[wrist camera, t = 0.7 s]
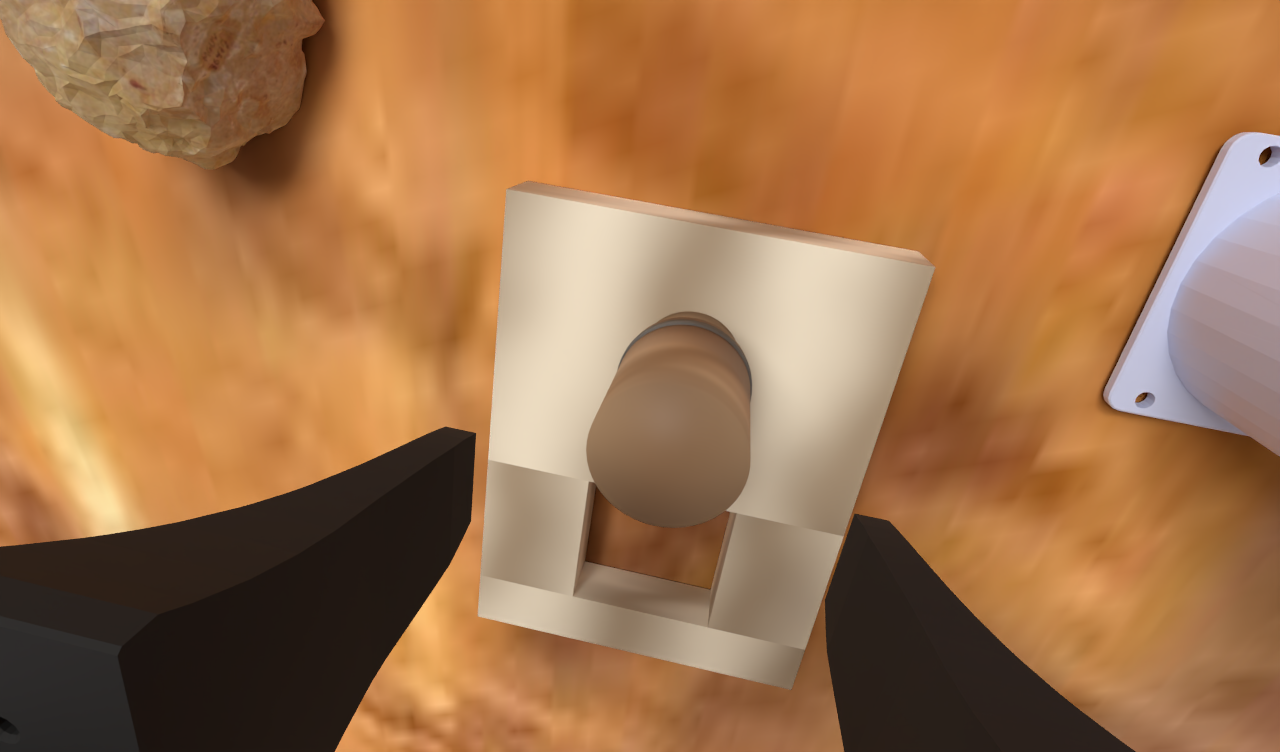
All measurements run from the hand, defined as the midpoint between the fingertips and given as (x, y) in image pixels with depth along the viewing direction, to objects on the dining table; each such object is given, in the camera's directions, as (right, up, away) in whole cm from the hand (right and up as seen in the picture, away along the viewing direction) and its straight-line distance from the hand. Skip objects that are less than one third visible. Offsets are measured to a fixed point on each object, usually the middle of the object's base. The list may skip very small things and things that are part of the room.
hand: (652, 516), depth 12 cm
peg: (+1, +3, +7) cm, 8 cm away
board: (+1, 0, +11) cm, 11 cm away
